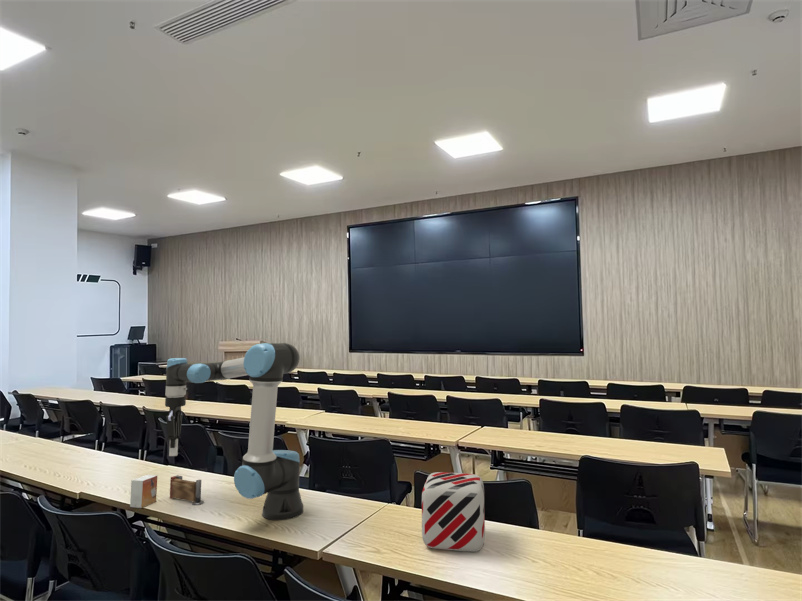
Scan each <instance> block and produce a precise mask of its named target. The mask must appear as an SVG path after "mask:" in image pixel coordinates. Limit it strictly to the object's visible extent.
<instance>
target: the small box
mask: <svg viewBox="0 0 802 601" xmlns="http://www.w3.org/2000/svg"><path fill="white" fill-rule="evenodd" d="M157 490H158V475H155V474H145V475H142V476H139V477H136V478H134V479H131V482H130V498H129V500H130V501H129V507H130V508H137V509H142V508H145V507H146V506H149V505H151V504H154V503H156V502H157V494H158V492H157Z"/></svg>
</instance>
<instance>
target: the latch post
mask: <svg viewBox="0 0 802 601" xmlns="http://www.w3.org/2000/svg"><path fill="white" fill-rule="evenodd" d="M174 476H175V477H176V479H182V480H183V475H179V474H177V475H174Z"/></svg>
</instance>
